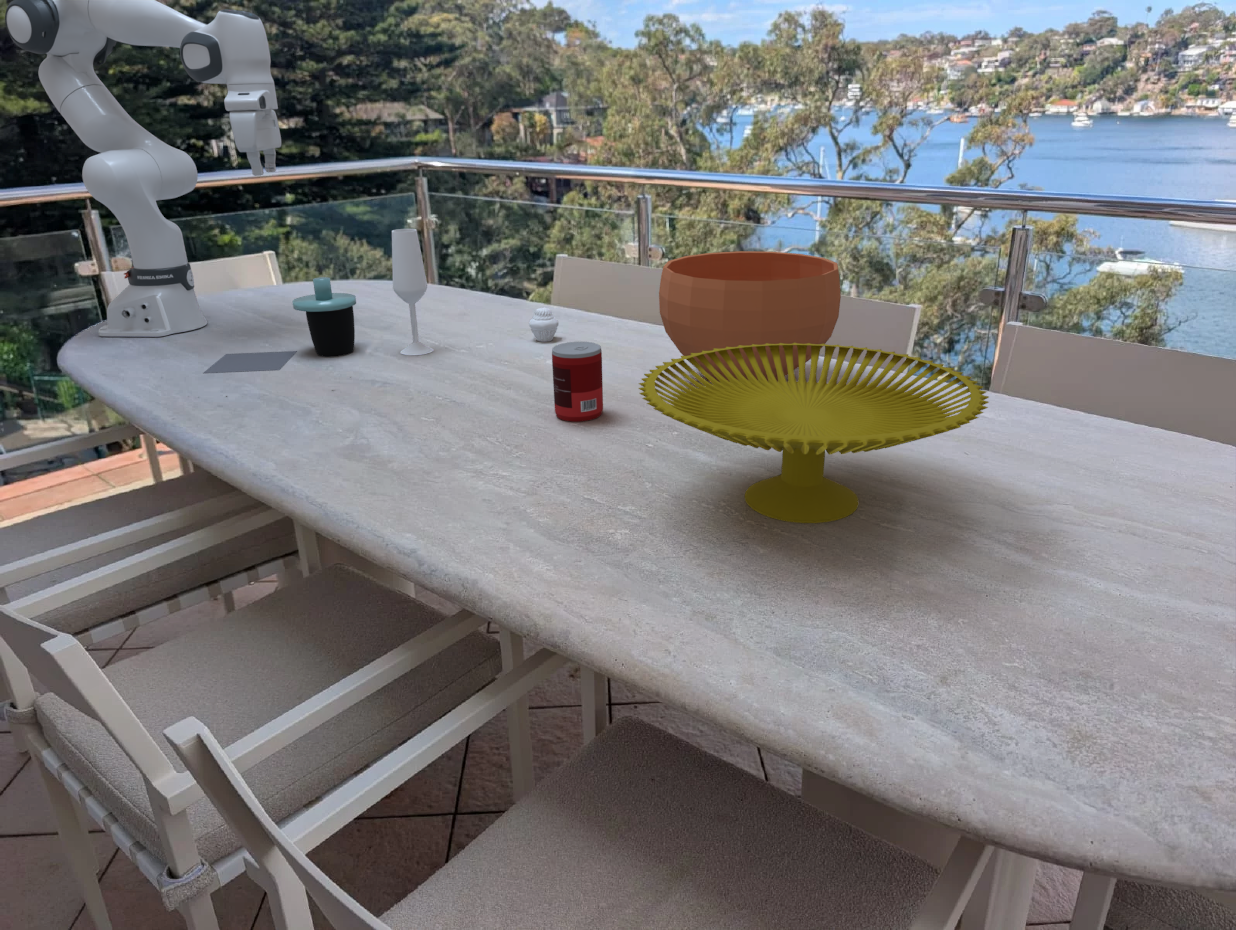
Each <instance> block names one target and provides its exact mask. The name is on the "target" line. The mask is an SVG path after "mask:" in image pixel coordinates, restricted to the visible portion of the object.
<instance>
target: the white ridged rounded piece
mask: <svg viewBox="0 0 1236 930" xmlns="http://www.w3.org/2000/svg"><path fill="white" fill-rule="evenodd" d="M528 322H529V323H528V326H529V327H530V330H531V332H532V334H533V336H534V338H535V339H536V341H538V342H543V343H546V342H551V341H552V340H553V339H554V337H555V334H556V333H557V330H558V326H559V320H558V319H557V318H556V317H555V316H554V314H553V312H552V310H551V309H550V308H548V307H544V306H543V307H539V308H536V310H534V315H533V316H532V318H531V319H530V320H529V321H528Z"/></svg>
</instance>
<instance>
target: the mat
mask: <svg viewBox="0 0 1236 930" xmlns="http://www.w3.org/2000/svg"><path fill="white" fill-rule="evenodd" d="M297 352H298V350H288V351H285V350H284V351H267V352H266V351H263V352H259V351H258V352H241V353H238V352H237V353H235V352H234V353H225V354H224V355H223V356H221V357H220V358H219V359H218V360H217V361H216V362H214V363H213V364H212V365H211V366H210V367H208V368H207V369H206V370H205V371H204V372H203V374H221V373H223V374H226V373H243V372H244V373H246V372H268V371H269V372H270V371H272V372H273V371H280V370H281V369H282V368H283V367H284V366H285V365H286V364H287V363H288V362H289V361H290V360H291V358H293V357H294V355H296V354H297Z"/></svg>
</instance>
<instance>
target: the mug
mask: <svg viewBox="0 0 1236 930" xmlns="http://www.w3.org/2000/svg"><path fill="white" fill-rule="evenodd" d="M305 315H306V321H307V325H308V330H309V333H310V339H311V341H312V344H313V347H314V349H315V353H316V354H317V355H318V356H319V357H325V358H332V357H333V358H334V357H335V358H337V357H342V356H347V355H349V354H352V353H354V350H355V336H356V335H355V313H354V305H353V306H351V307H348V308H344V309H338V310H331V311H319V312H308V311H305Z"/></svg>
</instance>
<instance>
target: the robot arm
mask: <svg viewBox="0 0 1236 930" xmlns="http://www.w3.org/2000/svg"><path fill="white" fill-rule="evenodd" d="M4 22H5V27H6V30H7V32H8V35H9V36H10V39H11V40H12V41H13V43H14V44H15V45H16V46H17V47H19V48H21V49H22V50H24V51H27V52H29V53H30V52H31V53H33V54H37V55H45V54H46V57H45V58H44V59H43V61H41V63H40V64H39V67H38V73H37V74H38V78H39V81H40V83H41V85H42V88H44V90H45V92H46V95H47V96H48V98H49V99H50V101H51V102H52V104H53V106H54V107H55V108H56V110H57V111H58V113H60V115H61V116H62V117H63V118H64V120H65V121H66V123H67V124H68V125H69V126H70V127H71V129H72V130H73V132H74V133H75V134H76V135H77V137H78V138H79V139H80V141H81V142H82V143H83V144H84V145H85V146H86V147H88V148H89V149H91V150H93V151H95V152H97V153H98V154H95V155H92V156H90V157H88V158H87V159H86V160H85V161H84V163H83V167H82V172H81V173H82V175H81V177H82V181H83V184H84V187H85V189H86V190H87V192H88V193H89V194H90V196H91V197H92V198H93V199H95V201H98V202H100V203H101V204H102V205H104V206H105V207H106V208H108V210H109V211H111V213H112V214H113V215H114V216H115V218H116V219H117V220H118V223H119V224H120V225H121V227H122V230H123V232H124V235H125V237H126V238H125V239H126V241H127V245H128V247H129V252H130V257H131V260H132V264H133V266H132V267H131V268H130V269H129V270H127V271H126V272H124V273H123V275H124V279H126V280H127V281H128V285H127V286H126V287H125V288H124V289H123V290H122V291H121V292H120V293H119V294H118V295H117V296H116V297H115V298H113V299H112V301H111V302H109V304H108V305H107V308H106V321H107V322H106V323H107V324H104V325H103V326H101V327H100V328H99V329H98V332H97V333H98V336H99V337H135V338H137V337H151V338H152V337H154V338H155V337H165V336H168V335H169V336H170V335H172V334H178V333H183V332H190V331H193V330H197V329H200V328H203V327H205V326H206V325H208V321H207V319H206V317H205V315H204V313H203V311H202V309H201V307H200V304H199V301H198V298H197V295H196V291H195V279H194V275H193V271H192V268H191V263H189V262H188V257H187V256H188V255H187V252H186V247H185V241H184V237H183V232H182V230H181V228H180V227H179V226H178V224H177V223H175V222H173V221H171V220H169V219H167V218H166V217H164V215H163V214H162V211H161V210H160V209H159V207H158V203H157V201H162V200H171V199H176V198H178V197H179V198H180V197H181V196H183V195H187V194H188V193H191V192H192V191H194V189H195V188H196V186H197V184H198V178H199V177H198V176H199V175H198V170H197V166H196V163H195V162H194V160H193V158H192V157H191V156H190V155H189V154H188V153H187V152H186V151H183V150H181V149H178V148H176V147H174V146H171V145H169V144H167V143H166V142H164V141H163V140H161V139H160V138H158V137H157V136H155V135H154V134H152V133H151V132H149V130H147V129H145V128H144V127H143V126H142V125H140V124H139V123H138V122H137V121H135V119H134V118H132V116H130V114H128V112H127V111H126V110H125V109H124V107H122V105H121V104H120V102H118V100H117V99H116V97H114V95H113V94H112V93H111V91H110V90H109V89H108V87H106V85H105V84H104V83H103V82H102V80H100V78H99V77H98V75H97V74H96V72H95V70H94V69H95V68H94V66H95V67H98V66H102V65H103V64H105V63H106V61H107V57H108V56H109V55H111V54H112V52H113V51H114V49H115V46H116V44H117V42H119V43H123V44H127V45H131V46H144V47H145V46H146V47H166V48H168V47H169V48H177V49H178V48H179V57H180V61H181V64H182V66H183V69H184V70H185V72H186V73H187V74H188V76H189V77H190V78H191V79H193V80H194V81H196V82H200V83H204V84H211V85H212V84H213V85H218V84H219V85H226V89H227V94H226V96H225V98H224V99H223V100H224V101H223V102H224V108H225V110H226V111H227V112H229V114H228V115H229V122H230V127H231V131H232V136H233V140H234V143H235V144H234V145H235V147H236V148H237V150H238V152H239V153H246V158H247V160H248V162H249V164H250V167H251V168H250V169H251V173H252V176H257V177H258V176H259V177H260V176H263V175H264V168H265V173H275V172H276V171H277V167H276V156H277V153H276V149H278V148H281V147H282V137H281V136H282V135H281V131H280V126H279V121H278V116H277V114H276V111H275V110H278V109H279V107H278V106H279V105H278V99H277V93H276V87H275V86H276V85H275V81H274V78H273V76H272V73H271V62H272V60H271V52H270V46H269V41H268V37H267V33H266V30H265V25H264V24H263V21H262V19H261V18H260V16H258V15H256V13H253V12H249V11H246V10H245V11H244V10H238V9H237V10H236V9H227V8H225V9H221V10H219V11H218V12H217V13H216V16H215V18H214V19H213V20H211V22H209V23H205V22H203V21H201V20H199V19H197V18H194V17H191V16H189V15H186V14H184V13H182V12H179V11H177V10H176V9H173V8H172V7H170V6H168V5H166V4H164V3H162V2H159V1H157V0H11V2H9V4H8V5H7V7H6V9H5V14H4ZM260 151H262V153H263V155H264V162H265V163H264V167H263V165H262V163H261V153H260Z"/></svg>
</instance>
